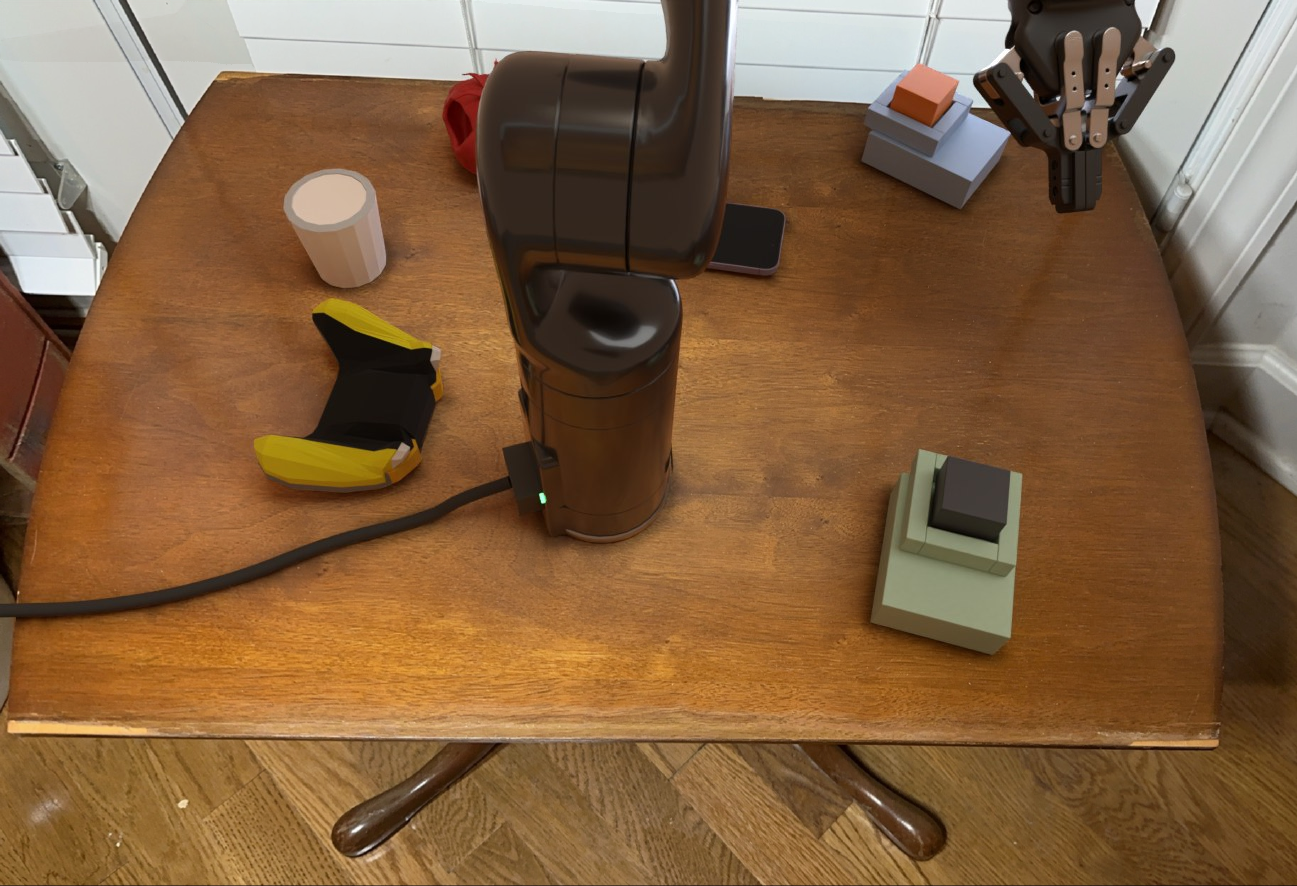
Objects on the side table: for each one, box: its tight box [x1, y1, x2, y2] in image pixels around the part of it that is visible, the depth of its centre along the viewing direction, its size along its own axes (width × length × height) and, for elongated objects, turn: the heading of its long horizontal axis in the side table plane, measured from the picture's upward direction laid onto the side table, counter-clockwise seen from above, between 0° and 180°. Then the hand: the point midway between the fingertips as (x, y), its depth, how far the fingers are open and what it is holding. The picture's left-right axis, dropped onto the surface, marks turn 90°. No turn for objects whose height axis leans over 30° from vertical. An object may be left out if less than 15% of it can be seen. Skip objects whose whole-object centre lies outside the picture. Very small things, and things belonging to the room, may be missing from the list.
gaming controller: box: [253, 297, 444, 494], centre depth 65 cm, size 15×6×10 cm
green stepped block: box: [869, 448, 1023, 656], centre depth 60 cm, size 11×8×5 cm
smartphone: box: [706, 201, 786, 277], centre depth 78 cm, size 7×1×15 cm
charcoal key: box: [930, 455, 1012, 542], centre depth 58 cm, size 4×4×2 cm
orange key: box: [890, 62, 960, 127], centre depth 80 cm, size 4×4×3 cm
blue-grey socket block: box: [861, 69, 1012, 210], centre depth 82 cm, size 11×8×5 cm
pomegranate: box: [441, 58, 499, 176], centre depth 79 cm, size 10×10×9 cm
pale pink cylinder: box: [282, 167, 387, 289], centre depth 72 cm, size 7×7×7 cm
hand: (1074, 211), depth 59 cm, fingers closed
